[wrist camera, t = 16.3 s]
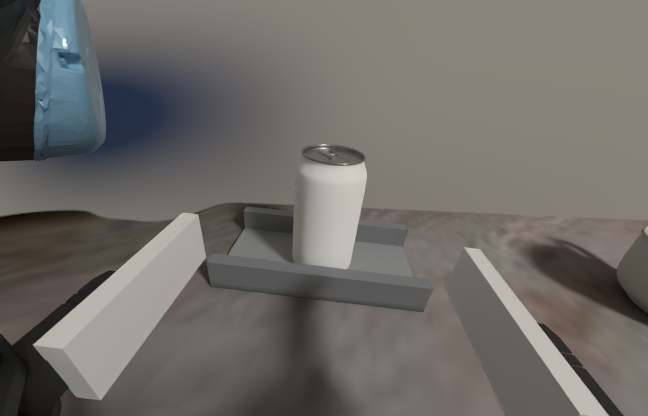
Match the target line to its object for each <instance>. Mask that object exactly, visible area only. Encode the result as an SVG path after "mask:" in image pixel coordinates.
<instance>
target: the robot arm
mask: <svg viewBox="0 0 648 416" xmlns="http://www.w3.org/2000/svg"><path fill="white" fill-rule="evenodd" d="M105 135H106V119H105V108H104V101H103V93H102V86H101V80H100V74H99V68H98V63H97V58H96V53H95V48H94V43H93V39H92V35H91V30H90V26H89V23H88V19H87V16H86V12H85V9H84V6H83V4H82V2H81V0H0V161H18V160H19V161H20V160H35V161H40V160H45V159H46V158H49V157H50V158H51V157H61V156H71V155H81V154H87V153H90V152H92V151H94V150H96V149H97V148H99V147H100V146H101V145H102V143H103V142H104V139H105ZM205 258H206V255H205V250H204V244H203V239H202V233H201V227H200V222H199V216H198V215H197V214H189V213H182V214H181V215H180V216H178V217H177V218H176V219H175V220H174V221H173V222H172V223H171V224H169V225H168V226H167V227H166V228H165V229H164V230H163V231H161V232H160V233H159V234H158V235H157V236H156V237H155V238H154V239H152V240H151V241H150V242H149V243H148V244H147V245H146V246H144V247H143V248H142V249H141V250H140V251H139V252H138V253H137V254H135V255H134V256H133V257H132V258H131V259H130V260H129V261H127V262H126V263H125V264H124V265H123V266H122V267H121V268H120V269H118V270H117V271H110V270H109V271H107V272H105V273H103V274H102V275H100V276H98V277H96V278H94V279H92V280H91V281H90V282H89V283H87V284H86V285H85V286H84V287H82V288H81V289H80V290H79V291H78V293H77V294H74V295H73V296H72V297H70V298H69V299H68V300H67V301H66V303H65V304H62V305H61V306H60V307H58V308H57V309H56V310H55V311H54V312H52V313H51V314H50V315H49V316H48V317H46V318H45V319H44V320H43V321H41V322H40V323H39V324H38V325H37V326H35V327H34V328H33V329H32V330H31V331H29V332H28V333H27V334H26V335H25V336H23V337H22V338H21V339H20V340H19V341H17V342H16V343H15V344H14V345H12V346H11V344H10V343H9V342H8V341H7V340H6V339H5V338H4V337H3V336H2V335H1V334H0V416H60V414H61V400H60V397H61V396H62V395H63V393H64V392H65V391H66V390H67V389H68V388H69V389H70V390H71V391H72V393H73V394H74V395H75V396H76V397H79V398H86V399H94V400H101V399H102V398H103V397H104V395H105V394H106V393H107V391H108V390H109V388H110V387H111V386H112V384H113V383H114V382H115V380H116V379H117V378H118V376H119V375H120V373H121V372H122V371H123V369H124V368H125V367H126V365H127V364H128V363H129V361H130V360H131V359H132V357H133V356H134V354H135V353H136V352H137V350H138V349H139V348H140V346H141V345H142V344H143V342H144V341H145V340H146V338H147V337H148V335H149V334H150V333H151V331H152V330H153V329H154V327H155V326H156V325H157V323H158V322H159V320H160V319H161V318H162V316H163V315H164V314H165V312H166V311H167V310H168V308H169V307H170V306H171V304H172V303H173V301H174V300H175V299H176V297H177V296H178V295H179V293H180V292H181V291H182V289H183V288H184V286H185V285H186V284H187V282H188V281H189V280H190V278H191V277H192V276H193V274H194V273H195V272H196V270H197V269H198V267H199V266H200V265H201V263H202V262H203V261H204V259H205ZM445 289H446V291H447V294H448V296H449V298H450V300H451V302H452V304H453V306H454V308H455V310H456V312H457V315H458V317H459V319H460V321H461V323H462V325H463V327H464V329H465V331H466V333H467V336H468V338H469V340H470V342H471V344H472V346H473V348H474V350H475V352H476V354H477V357H478V359H479V361H480V363H481V365H482V367H483V369H484V371H485V373H486V375H487V378H488V380H489V382H490V384H491V386H492V388H493V390H494V392H495V394H496V396H497V399H498V401H499V403H500V405H501V407H502V409H503V411H504V413H505V415H506V416H623V414H622V413H621V412H620V411H619V410H618V408H617V407H616V406H615V405H614V403H613V402H612V401H611V400H610V399H609V397H608V396H607V395H606V394H605V392H604V391H603V390H602V389H601V388H600V386H599V385H598V384H597V383H596V381H595V380H594V379H593V378H592V377H591V375H590V374H589V373H588V372H587V370H586V369H583V367H582V364H581V363H580V362H579V361H578V359H577V358H576V357H575V356H573V355H572V352H571V351H570V350H569V348H568V347H567V346H566V345H565V344H564V342H563V341H562V340H561V339H560V338H559V337H558V336H557V335H556V334H555V333H554V332H552V331H551V330H550V329H549V328H548V327H547V326H545V325H544V324H540V323H537V322H536V321H535V320H534V319H533V317H532V316H531V315H530V313H529V312H528V311H527V310H526V308H525V307H524V306H523V304H522V303H521V302H520V301H519V299H518V298H517V297H516V295H515V294H514V293H513V292H512V290H511V289H510V288H509V286H508V285H507V284H506V283H505V281H504V280H503V279H502V277H501V276H500V275H499V274H498V272H497V271H496V270H495V268H494V267H493V266H492V264H491V263H490V262H489V261H488V259H487V258H486V257H485V255H484V254H483V253H482V252H481V250H480V249H473V248H465V247H464V248H463V250H462V253H461V255H460V257H459V259H458V261H457V263H456V265H455V267H454V269H453V271H452V273H451V275H450V277H449V279H448V281H447V283H446V285H445Z"/></svg>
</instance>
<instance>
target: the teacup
mask: <svg viewBox="0 0 648 416" xmlns="http://www.w3.org/2000/svg"><path fill="white" fill-rule="evenodd" d="M617 279H618V281H619V283H620V285H621V286H622V288H623V289H624V290H625V291H626V293H627V295H628V297H629V298H630V299H631V300H632V301H633V302H634V303H635V304H636V305H637V306H638V307H639V308H641V309H642V310H644V311H645V312H646V313H648V226H645V227H644V228H643V229H642V231H641V235H640V236H639V237H638V238H637V240H636V241H635V242H634V243H633V245H632V246H631V247H630V249H629V250H628V251H627V253H626V254H625V255H624V257H623V258H622V260H621V262H620V263H619V265H618V268H617Z"/></svg>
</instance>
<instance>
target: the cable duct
mask: <svg viewBox="0 0 648 416" xmlns="http://www.w3.org/2000/svg"><path fill="white" fill-rule="evenodd" d="M293 221H294V212H292V211H283V210H275V209H266V208H257V207H249V206H247V207H246V208H245V210H244V224H245V229H244V230H243V232H242V233H241V235H240V236H239V238H238V240H237V241H236V243H235V244H234V246H233V247H232V249H231V251H230V252H229V254H228V255H223V254H214V253H213V254H212V255H211V256H210V258H209V259H208V261H207V262H206V263H207V268H208V274H209V279H210V285H211V287H220V288H228V289H236V290H244V291H253V292H261V293H269V294H278V295H286V296H294V297H303V298H311V299H319V300H328V301H336V302H344V303H353V304H361V305H369V306H378V307H386V308H394V309H403V310H411V311H419V312H423V311H424V309H425V306H426V304H427V302H428V300H429V297H430V295H431V293H432V291H433V288H432V285H431V283H430V281H429V279H425V278H416V277H413V274H412V271H411V269H410V266H409V263H408V260H407V257H406V255H405V252H404V249H403V244H404V241H405V238H406V235H407V232H408V229H407V227H406V225H403V224H395V223H386V222H377V221H369V220H360V219H359V222H358V227H357V233H356V238H355V243H354V248H353V253H352V258H351V262H350V265H349V267H348V268H347V269H340V268H332V267H324V266H315V265H307V264H298V263H294V261H293V256H292V249H293Z"/></svg>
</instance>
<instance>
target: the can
mask: <svg viewBox="0 0 648 416" xmlns="http://www.w3.org/2000/svg"><path fill="white" fill-rule="evenodd" d="M301 152H302V157H301V158H300V160H299V162H298V164H297V166H296V175H295V196H294V197H295V198H294V221H293V249H292V256H293V261H294V263H298V264H307V265H315V266H324V267H332V268H340V269H347V268H348V267H349V265H350V262H351V258H352V253H353V248H354V243H355V238H356V233H357V227H358V222H359V217H360V212H361V207H362V201H363V196H364V190H365V185H366V179H367V172H366V168H365V165H364V161H365V159H366V157H365V155H364V154H363V153H362V152H360V151H358V150H355V149H352V148H349V147H345V146H339V145H329V144H316V145H310V146H306V147H304V148H303V149H302V151H301Z"/></svg>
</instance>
